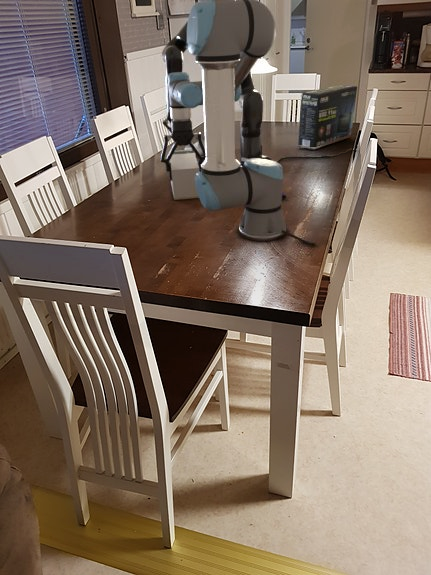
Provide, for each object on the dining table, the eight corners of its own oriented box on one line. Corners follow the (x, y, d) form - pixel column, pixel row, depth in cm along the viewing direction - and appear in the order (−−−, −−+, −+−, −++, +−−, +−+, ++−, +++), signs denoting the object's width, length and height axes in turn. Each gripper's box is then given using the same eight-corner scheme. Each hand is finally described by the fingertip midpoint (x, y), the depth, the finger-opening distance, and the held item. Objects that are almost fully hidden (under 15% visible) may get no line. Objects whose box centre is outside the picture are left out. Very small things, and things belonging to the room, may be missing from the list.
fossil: (208, 150, 224) (188, 131, 227) (198, 168, 231) (178, 149, 234) (228, 148, 238) (208, 130, 241) (217, 165, 244) (198, 147, 248)
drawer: (170, 169, 207) (168, 147, 201) (190, 167, 207) (189, 145, 202) (173, 188, 186) (171, 164, 181) (196, 186, 187) (195, 162, 182)
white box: (171, 182, 195) (168, 154, 188) (195, 180, 196) (194, 152, 190) (174, 199, 179) (171, 170, 172) (200, 197, 180) (199, 167, 173)
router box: (314, 151, 231) (318, 94, 217) (296, 148, 237) (299, 92, 224) (352, 138, 251) (358, 85, 238) (335, 135, 258) (340, 83, 245)
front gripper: (211, 115, 171) (213, 173, 183) (149, 119, 169) (155, 177, 180) (214, 119, 165) (216, 179, 176) (149, 123, 162) (156, 183, 174)
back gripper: (190, 97, 193) (193, 139, 202) (159, 99, 191) (163, 141, 200) (192, 100, 186) (194, 143, 195) (159, 102, 185) (163, 145, 194)
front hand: (185, 178), depth 178 cm, fingers open, 11 cm apart
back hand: (178, 142), depth 198 cm, fingers closed
